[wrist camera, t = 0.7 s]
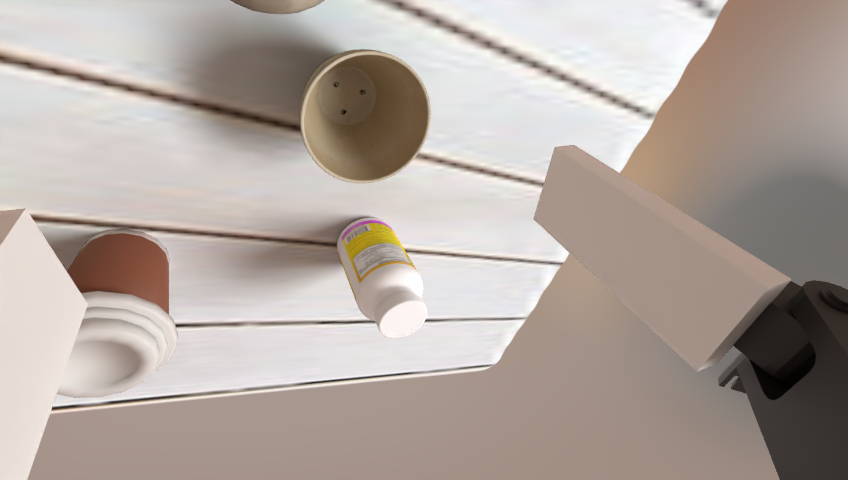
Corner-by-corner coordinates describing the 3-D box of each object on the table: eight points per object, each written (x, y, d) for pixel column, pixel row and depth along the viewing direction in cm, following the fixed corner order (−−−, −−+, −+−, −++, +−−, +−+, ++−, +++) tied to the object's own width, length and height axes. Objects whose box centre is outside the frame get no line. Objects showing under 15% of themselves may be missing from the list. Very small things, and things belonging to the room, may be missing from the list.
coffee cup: (52, 211, 30) (-16, 321, 22) (187, 219, 35) (176, 314, 26) (66, 297, 35) (14, 418, 26) (185, 295, 39) (174, 398, 31)
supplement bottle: (381, 264, 47) (420, 345, 38) (328, 260, 44) (357, 348, 34) (400, 218, 44) (448, 294, 35) (345, 210, 41) (382, 291, 32)
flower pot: (288, 148, 35) (300, 185, 30) (286, 23, 29) (300, 42, 24) (393, 149, 39) (419, 182, 34) (408, 40, 33) (442, 59, 28)
